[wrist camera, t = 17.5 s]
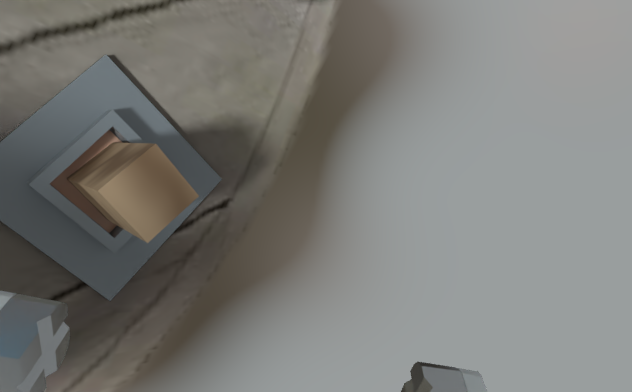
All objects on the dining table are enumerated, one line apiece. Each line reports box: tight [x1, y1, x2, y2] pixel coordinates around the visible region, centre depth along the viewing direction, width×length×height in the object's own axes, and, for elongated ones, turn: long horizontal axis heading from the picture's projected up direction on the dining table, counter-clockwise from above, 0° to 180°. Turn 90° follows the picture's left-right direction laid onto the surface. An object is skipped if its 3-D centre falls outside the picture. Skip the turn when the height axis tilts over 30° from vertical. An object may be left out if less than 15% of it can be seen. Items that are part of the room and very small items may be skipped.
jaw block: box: [66, 142, 199, 243], centre depth 37 cm, size 5×5×12 cm
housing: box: [0, 55, 222, 301], centre depth 41 cm, size 16×16×3 cm
